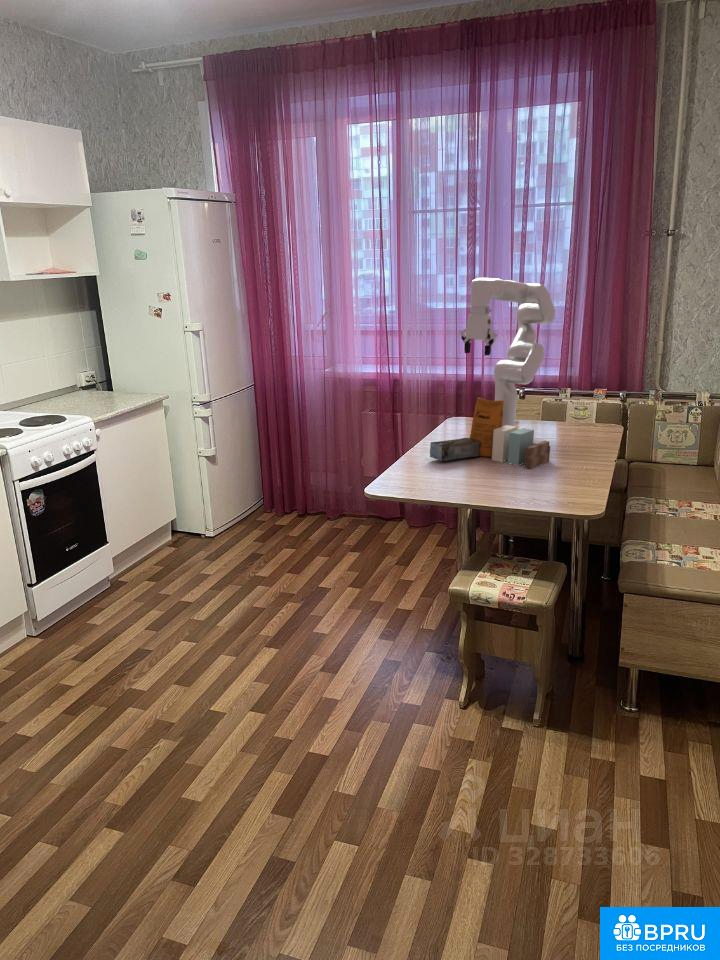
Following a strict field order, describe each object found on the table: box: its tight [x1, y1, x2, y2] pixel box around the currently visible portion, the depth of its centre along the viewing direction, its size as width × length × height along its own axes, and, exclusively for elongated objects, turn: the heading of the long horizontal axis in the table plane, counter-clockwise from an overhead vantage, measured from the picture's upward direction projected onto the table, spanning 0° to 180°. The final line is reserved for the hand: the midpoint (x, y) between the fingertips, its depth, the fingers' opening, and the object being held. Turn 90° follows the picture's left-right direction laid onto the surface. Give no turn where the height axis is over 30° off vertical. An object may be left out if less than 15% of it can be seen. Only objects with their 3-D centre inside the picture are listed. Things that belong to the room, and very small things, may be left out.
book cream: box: [491, 425, 518, 462], centre depth 285 cm, size 10×4×12 cm, turn 140°
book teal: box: [507, 427, 535, 466], centre depth 280 cm, size 10×4×12 cm, turn 137°
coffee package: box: [469, 396, 504, 458], centre depth 288 cm, size 10×12×22 cm
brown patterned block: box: [523, 440, 551, 470], centre depth 282 cm, size 15×20×8 cm
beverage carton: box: [429, 437, 480, 462], centre depth 284 cm, size 8×19×7 cm, turn 122°
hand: (477, 354), depth 301 cm, fingers open, 9 cm apart
